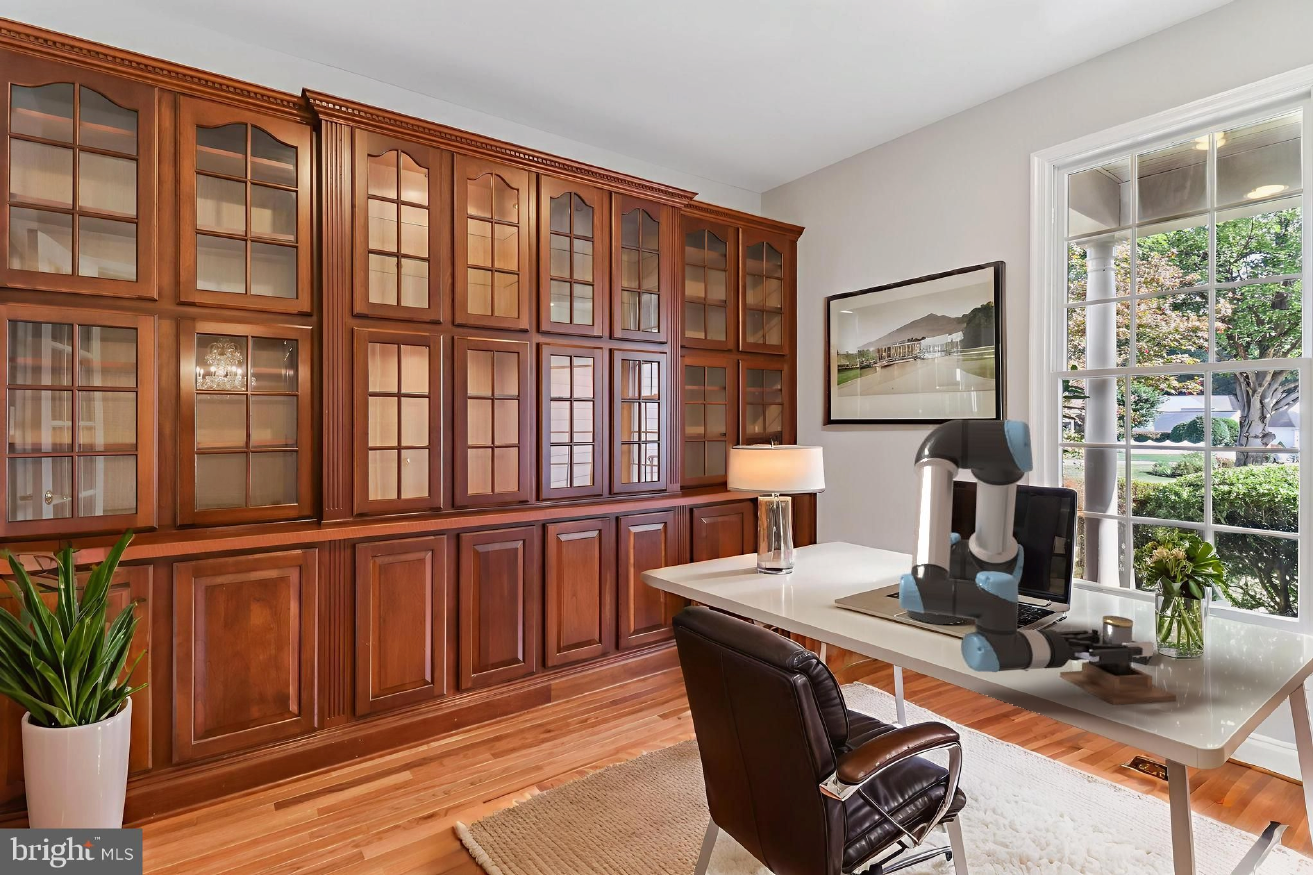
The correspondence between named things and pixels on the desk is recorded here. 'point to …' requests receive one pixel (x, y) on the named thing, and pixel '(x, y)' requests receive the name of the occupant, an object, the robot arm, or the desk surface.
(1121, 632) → the grey post
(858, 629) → the desk surface
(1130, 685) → the socket base
